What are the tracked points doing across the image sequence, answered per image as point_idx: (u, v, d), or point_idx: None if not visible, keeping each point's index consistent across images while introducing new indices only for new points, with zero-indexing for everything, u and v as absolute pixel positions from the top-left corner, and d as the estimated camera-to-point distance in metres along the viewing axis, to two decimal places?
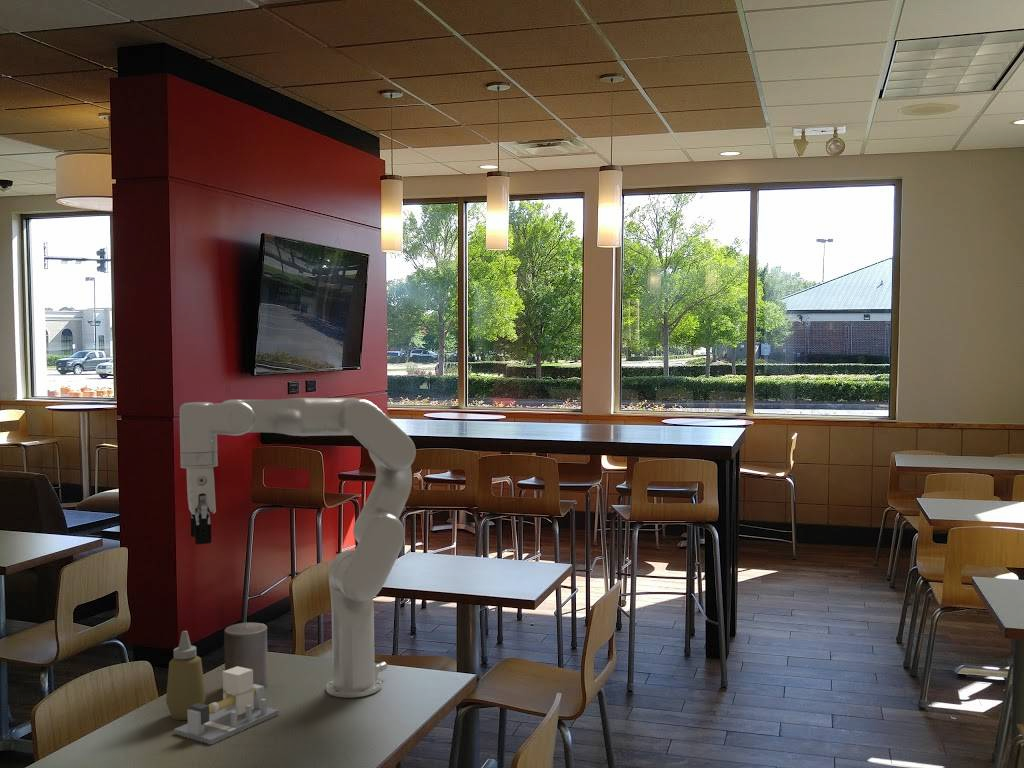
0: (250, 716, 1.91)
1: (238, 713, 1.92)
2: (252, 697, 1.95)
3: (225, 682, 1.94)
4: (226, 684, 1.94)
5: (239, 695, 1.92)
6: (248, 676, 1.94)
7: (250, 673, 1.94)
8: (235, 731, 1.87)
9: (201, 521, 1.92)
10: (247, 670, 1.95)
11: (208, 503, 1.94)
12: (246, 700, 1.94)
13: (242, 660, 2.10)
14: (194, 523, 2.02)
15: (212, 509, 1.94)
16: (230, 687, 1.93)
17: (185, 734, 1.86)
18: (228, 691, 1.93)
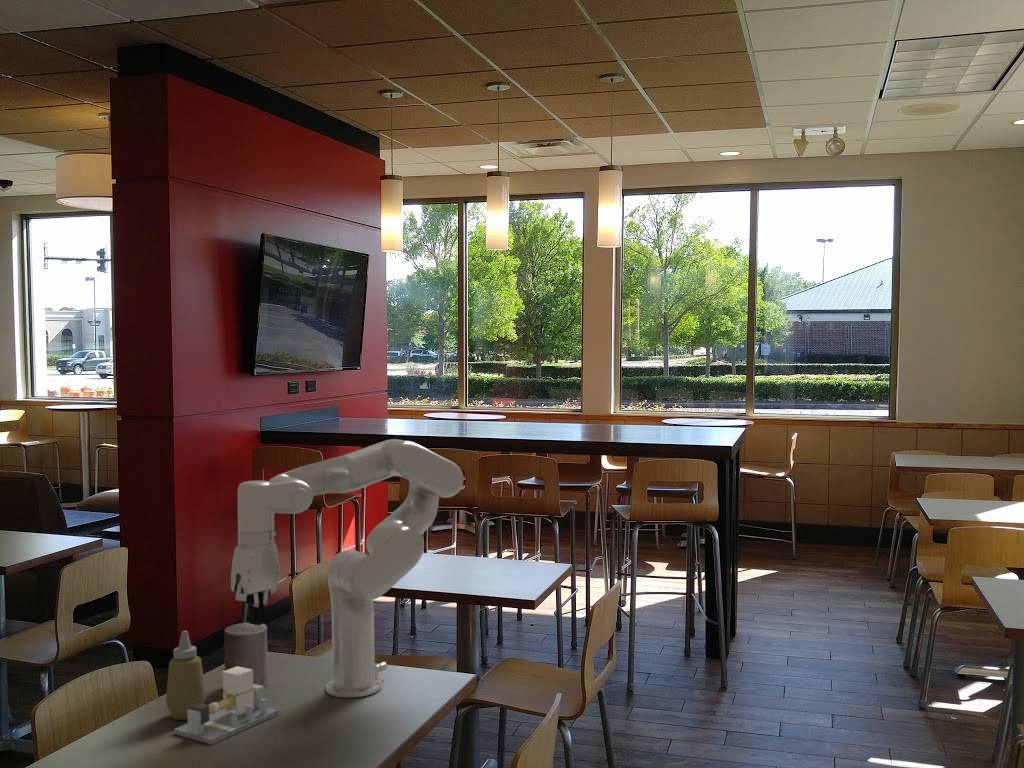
0: (250, 716, 1.91)
1: (238, 713, 1.92)
2: (252, 697, 1.95)
3: (225, 682, 1.94)
4: (226, 684, 1.94)
5: (239, 695, 1.92)
6: (248, 676, 1.94)
7: (250, 673, 1.94)
8: (235, 731, 1.87)
9: None
10: (247, 670, 1.95)
11: None
12: (246, 700, 1.94)
13: (242, 660, 2.10)
14: None
15: None
16: (230, 687, 1.93)
17: (185, 734, 1.86)
18: (228, 691, 1.93)
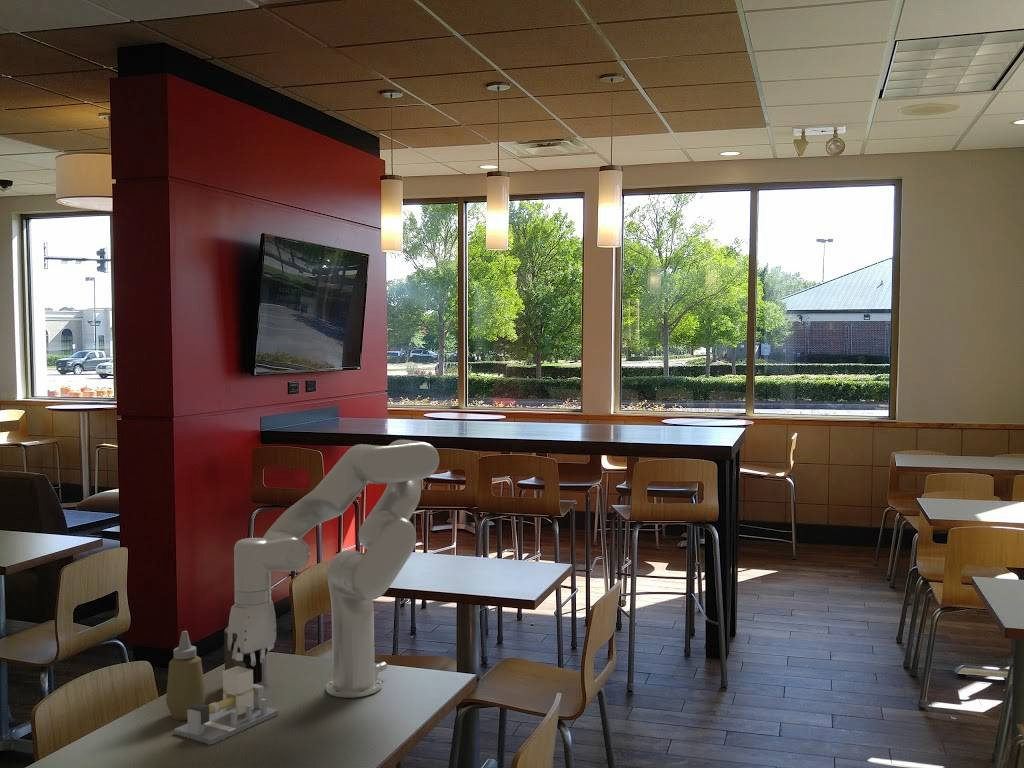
0: (250, 716, 1.91)
1: (238, 713, 1.92)
2: (252, 697, 1.95)
3: (224, 682, 1.94)
4: (226, 684, 1.94)
5: (239, 695, 1.92)
6: (248, 676, 1.94)
7: (250, 673, 1.94)
8: (235, 731, 1.87)
9: None
10: (247, 670, 1.95)
11: None
12: (246, 700, 1.94)
13: None
14: None
15: None
16: (230, 687, 1.93)
17: (185, 734, 1.86)
18: (228, 691, 1.93)
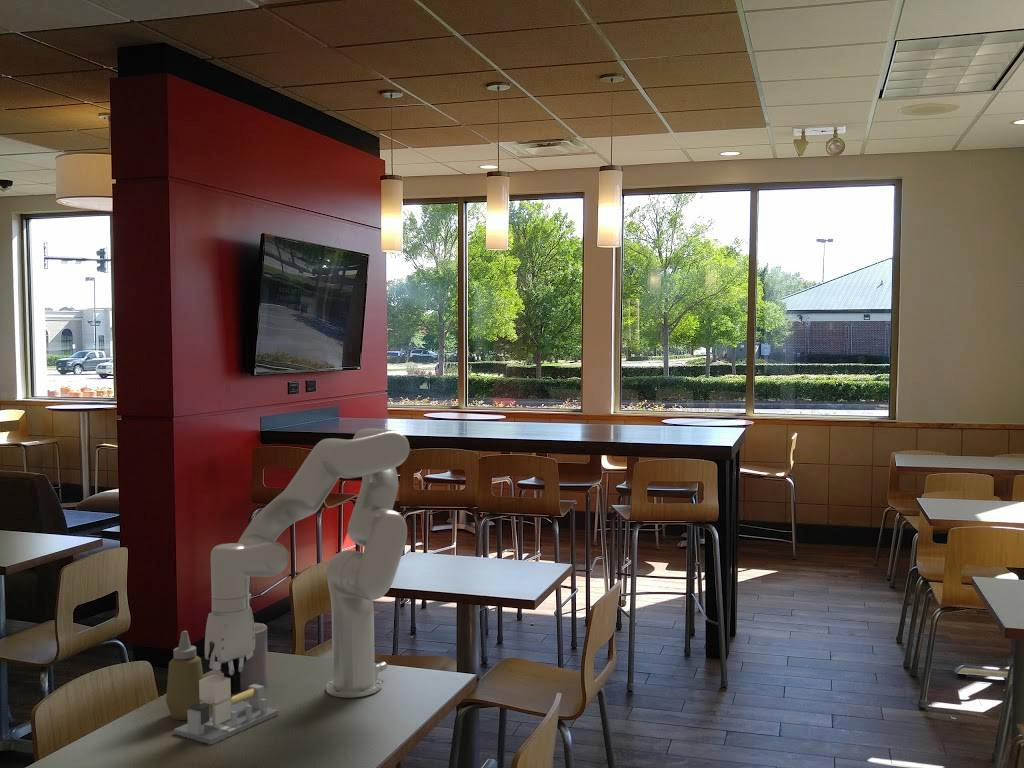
0: (250, 716, 1.91)
1: (215, 723, 1.87)
2: (229, 706, 1.90)
3: (201, 691, 1.89)
4: (202, 693, 1.88)
5: (216, 705, 1.87)
6: (226, 684, 1.89)
7: (227, 681, 1.89)
8: (235, 731, 1.87)
9: None
10: (224, 679, 1.89)
11: None
12: (223, 709, 1.88)
13: None
14: None
15: None
16: (206, 696, 1.88)
17: (185, 734, 1.86)
18: (205, 700, 1.88)
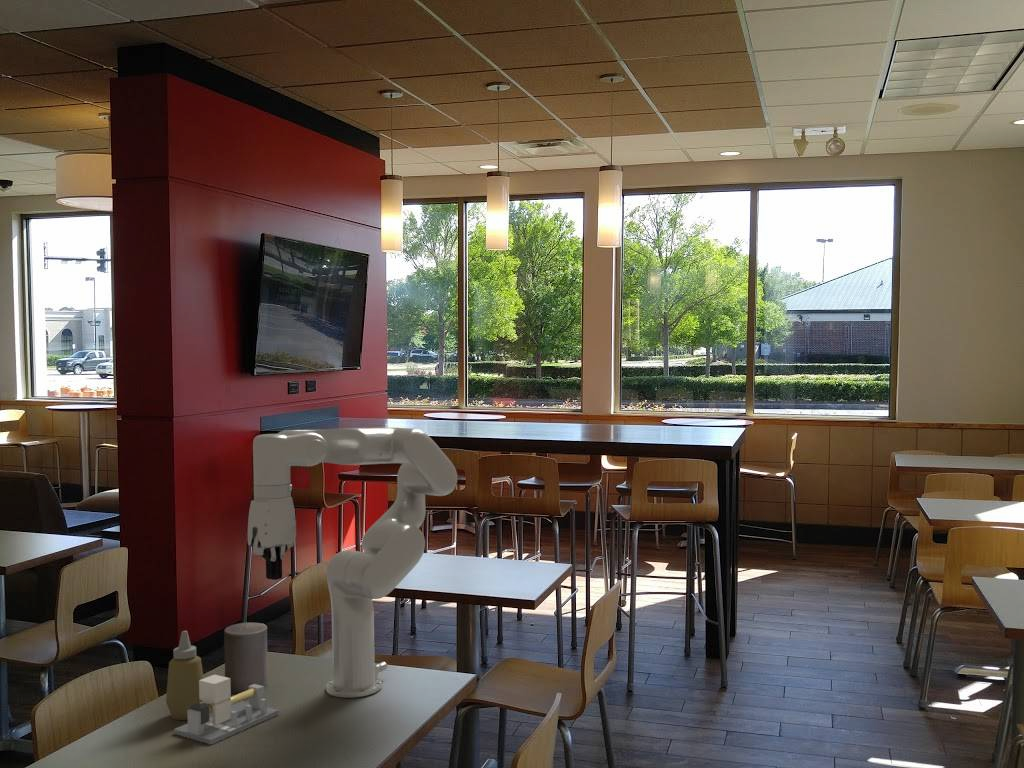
0: (250, 716, 1.91)
1: (215, 723, 1.87)
2: (229, 706, 1.90)
3: (201, 691, 1.89)
4: (202, 693, 1.88)
5: (216, 705, 1.87)
6: (226, 684, 1.89)
7: (227, 681, 1.89)
8: (235, 731, 1.87)
9: None
10: (224, 679, 1.89)
11: None
12: (223, 709, 1.88)
13: (242, 660, 2.10)
14: None
15: None
16: (206, 696, 1.88)
17: (185, 734, 1.86)
18: (205, 700, 1.88)
